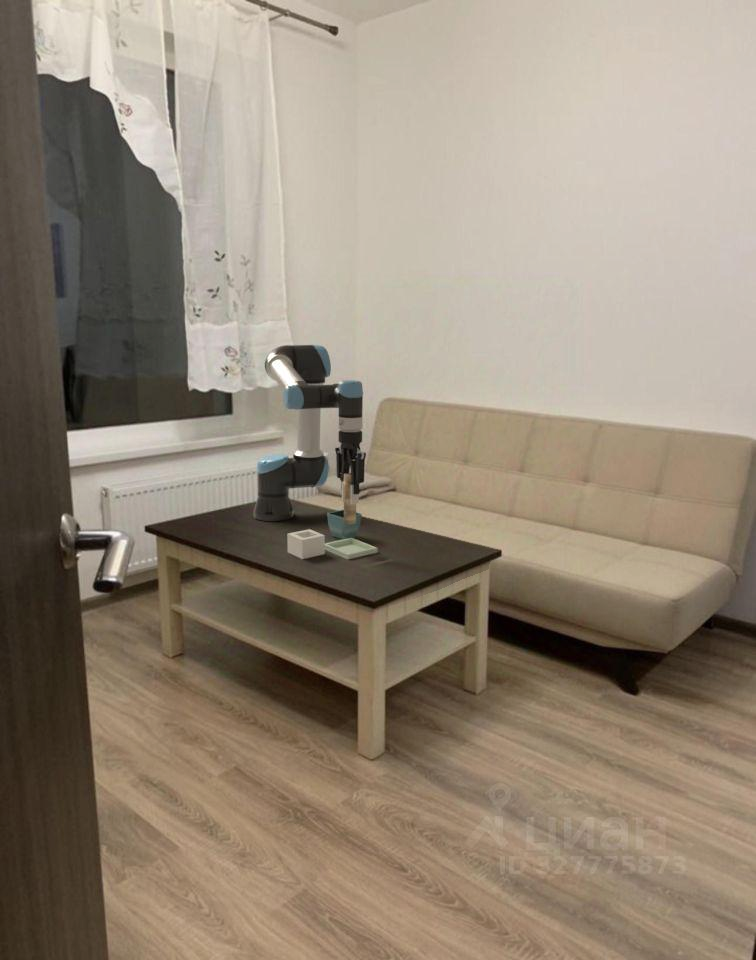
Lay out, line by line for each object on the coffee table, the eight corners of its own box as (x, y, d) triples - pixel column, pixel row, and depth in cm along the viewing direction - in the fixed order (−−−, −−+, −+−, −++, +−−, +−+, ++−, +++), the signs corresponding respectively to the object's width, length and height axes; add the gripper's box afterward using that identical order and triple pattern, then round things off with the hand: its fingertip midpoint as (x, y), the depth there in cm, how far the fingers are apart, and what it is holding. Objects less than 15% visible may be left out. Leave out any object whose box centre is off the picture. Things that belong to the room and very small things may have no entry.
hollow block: (287, 554, 243) (287, 533, 241) (309, 549, 248) (309, 529, 247) (302, 561, 236) (302, 540, 235) (324, 556, 242) (324, 535, 240)
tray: (322, 550, 247) (322, 543, 247) (351, 544, 255) (351, 537, 254) (347, 561, 237) (347, 554, 236) (377, 554, 244) (377, 547, 244)
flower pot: (345, 533, 267) (345, 508, 265) (362, 538, 261) (362, 513, 259) (326, 538, 261) (326, 513, 259) (343, 543, 255) (343, 518, 253)
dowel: (341, 522, 244) (341, 473, 240) (351, 520, 246) (351, 472, 243) (348, 524, 241) (348, 476, 237) (358, 522, 243) (358, 474, 240)
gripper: (325, 427, 241) (325, 498, 246) (357, 434, 228) (356, 509, 233) (344, 425, 246) (344, 495, 251) (376, 432, 233) (375, 505, 238)
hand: (350, 502), depth 242 cm, fingers closed on dowel, 4 cm apart
